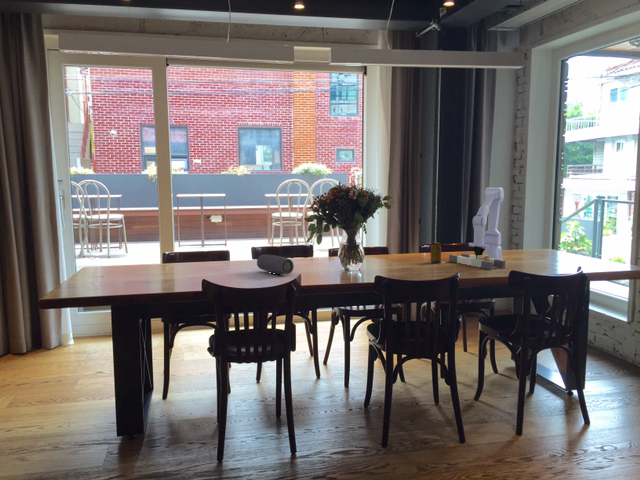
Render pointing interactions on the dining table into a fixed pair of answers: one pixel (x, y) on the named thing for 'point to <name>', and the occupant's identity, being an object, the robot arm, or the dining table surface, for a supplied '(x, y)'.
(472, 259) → the trap box
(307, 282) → the dining table surface
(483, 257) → the maple block
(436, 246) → the condiment
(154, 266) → the dining table surface
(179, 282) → the dining table surface
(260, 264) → the bluetooth speaker
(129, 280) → the dining table surface
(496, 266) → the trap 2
